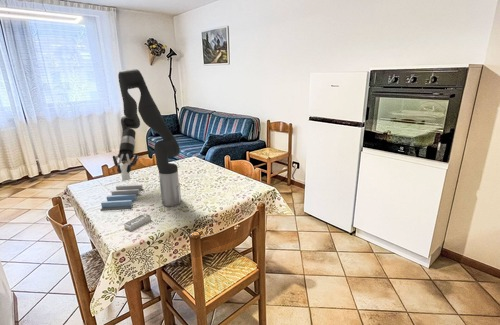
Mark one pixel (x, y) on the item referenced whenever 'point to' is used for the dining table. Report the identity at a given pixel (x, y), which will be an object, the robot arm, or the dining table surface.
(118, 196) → the grey blue ridged block
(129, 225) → the multiport hub
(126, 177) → the white bottle with cap
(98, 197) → the dining table surface
